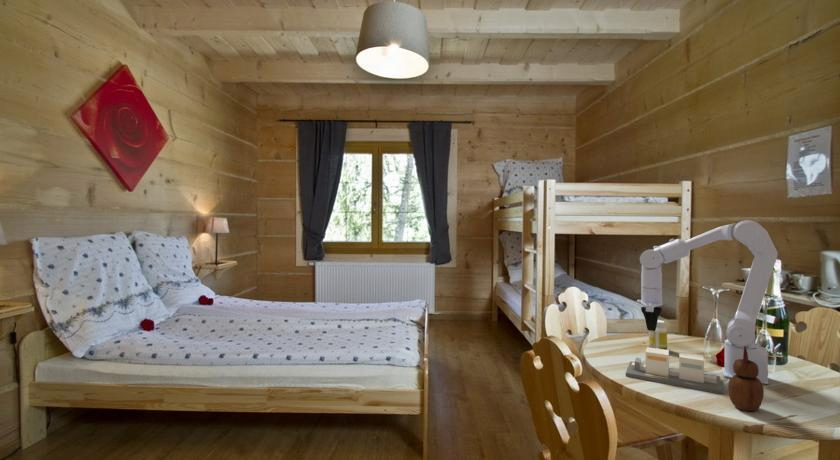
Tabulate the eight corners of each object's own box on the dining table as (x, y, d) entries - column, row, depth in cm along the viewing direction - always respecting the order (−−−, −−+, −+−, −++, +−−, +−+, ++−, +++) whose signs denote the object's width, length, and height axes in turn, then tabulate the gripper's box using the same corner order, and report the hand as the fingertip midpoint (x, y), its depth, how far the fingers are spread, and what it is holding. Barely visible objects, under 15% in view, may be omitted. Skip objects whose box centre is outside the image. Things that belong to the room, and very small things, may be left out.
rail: (719, 379, 110) (719, 354, 110) (722, 394, 101) (722, 366, 101) (630, 364, 123) (630, 341, 123) (625, 376, 114) (625, 351, 113)
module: (669, 370, 115) (669, 350, 114) (668, 376, 110) (668, 355, 110) (647, 367, 118) (647, 347, 118) (645, 372, 113) (645, 351, 113)
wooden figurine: (751, 416, 90) (751, 350, 89) (723, 405, 95) (723, 343, 95) (768, 410, 92) (768, 346, 92) (740, 400, 98) (740, 339, 97)
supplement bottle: (668, 348, 138) (668, 320, 137) (666, 353, 133) (666, 323, 133) (650, 346, 141) (650, 318, 141) (647, 349, 137) (647, 321, 136)
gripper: (639, 283, 135) (639, 323, 135) (634, 289, 123) (634, 333, 123) (664, 285, 131) (664, 326, 131) (661, 291, 119) (661, 337, 119)
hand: (651, 330), depth 127 cm, fingers closed
